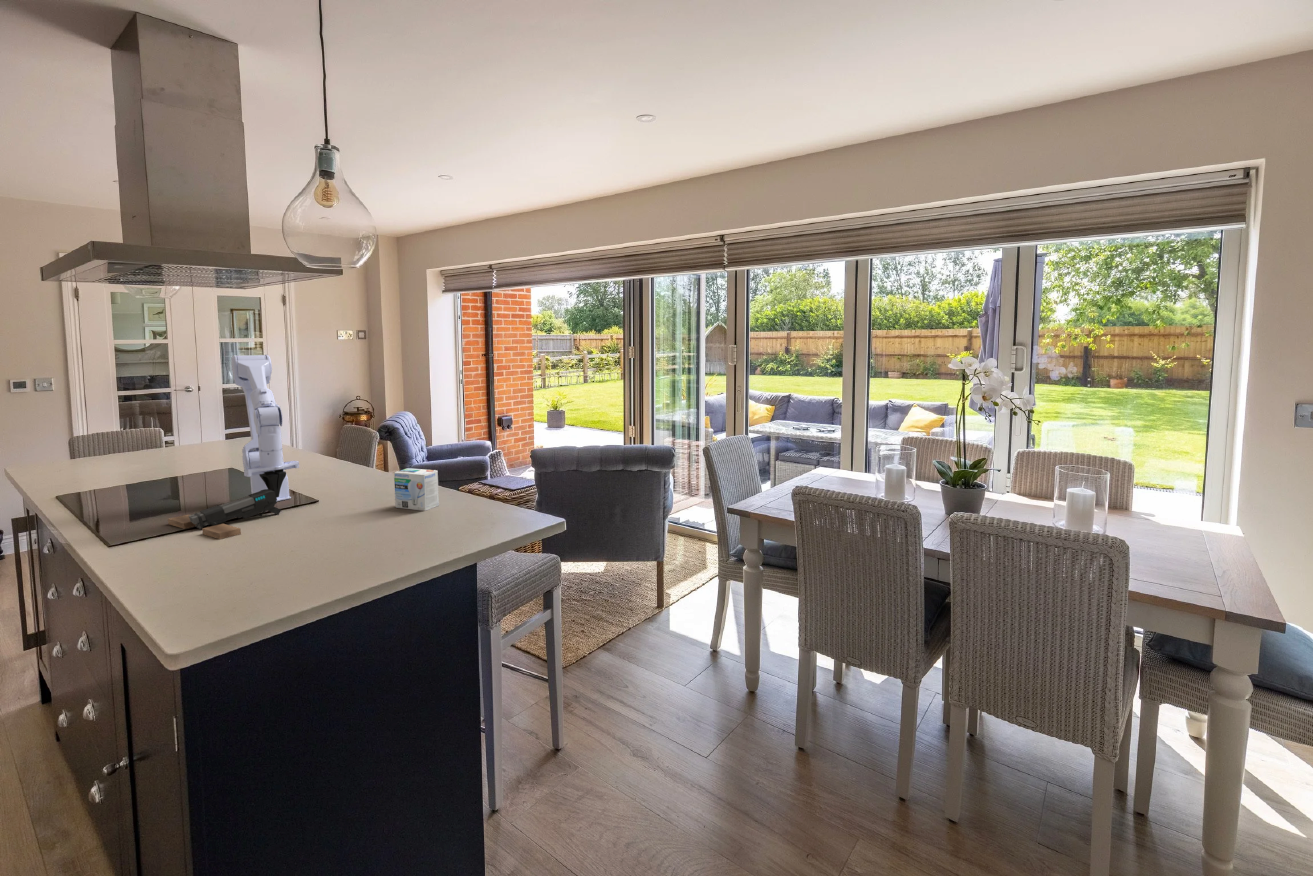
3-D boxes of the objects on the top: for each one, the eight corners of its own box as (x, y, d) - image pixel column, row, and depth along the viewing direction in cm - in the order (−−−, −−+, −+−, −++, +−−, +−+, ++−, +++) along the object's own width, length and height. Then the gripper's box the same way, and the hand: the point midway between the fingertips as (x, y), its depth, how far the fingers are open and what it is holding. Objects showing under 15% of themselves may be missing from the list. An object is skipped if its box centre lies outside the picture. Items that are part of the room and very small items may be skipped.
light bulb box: (394, 508, 195) (392, 472, 194) (409, 502, 202) (407, 467, 200) (426, 511, 192) (424, 474, 190) (440, 505, 199) (438, 469, 197)
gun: (285, 512, 187) (269, 481, 183) (210, 551, 175) (192, 519, 171) (279, 509, 190) (263, 479, 186) (205, 547, 178) (186, 515, 174)
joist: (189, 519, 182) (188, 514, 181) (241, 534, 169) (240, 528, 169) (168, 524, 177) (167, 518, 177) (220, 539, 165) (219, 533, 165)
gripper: (252, 455, 179) (257, 504, 181) (304, 447, 191) (307, 493, 193) (237, 452, 182) (242, 501, 184) (289, 445, 195) (292, 490, 197)
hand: (274, 497), depth 189 cm, fingers closed
